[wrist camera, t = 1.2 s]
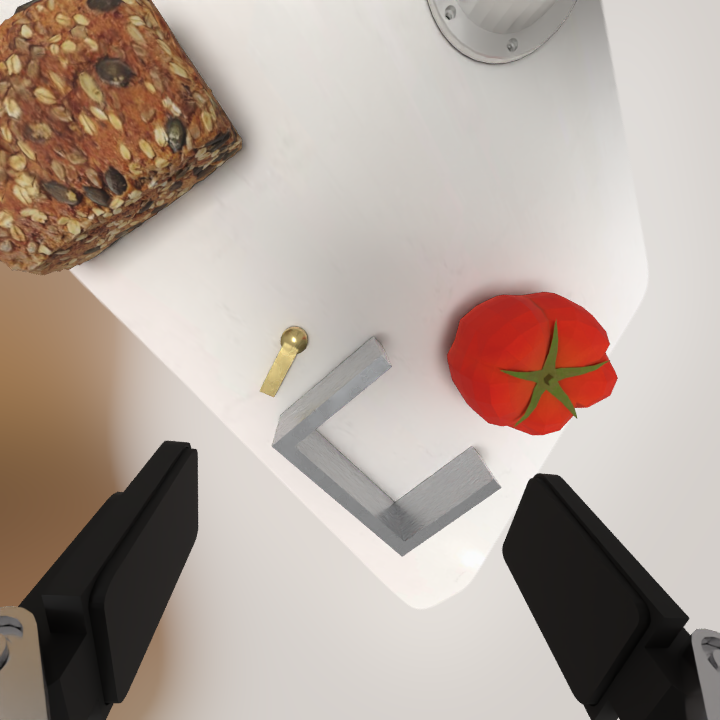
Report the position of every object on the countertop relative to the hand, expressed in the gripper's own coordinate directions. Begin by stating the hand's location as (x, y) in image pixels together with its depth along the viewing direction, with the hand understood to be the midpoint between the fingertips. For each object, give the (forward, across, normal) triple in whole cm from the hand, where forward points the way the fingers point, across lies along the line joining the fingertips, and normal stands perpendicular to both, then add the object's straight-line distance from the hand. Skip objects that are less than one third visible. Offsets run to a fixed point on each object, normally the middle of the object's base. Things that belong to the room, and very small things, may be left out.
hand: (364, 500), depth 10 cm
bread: (+27, +20, -10) cm, 35 cm away
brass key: (+27, +6, +8) cm, 28 cm away
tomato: (+27, -17, +2) cm, 32 cm away
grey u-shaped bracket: (+26, -7, +14) cm, 31 cm away
